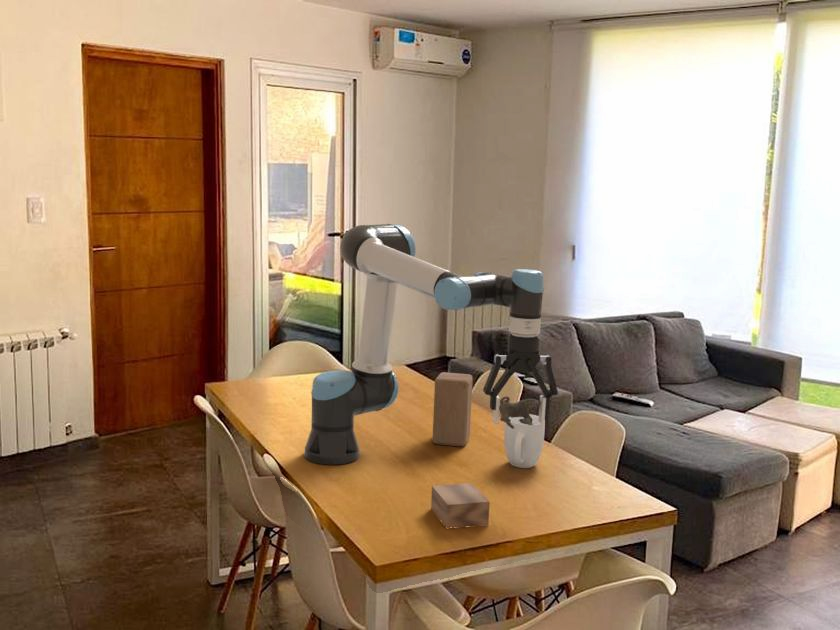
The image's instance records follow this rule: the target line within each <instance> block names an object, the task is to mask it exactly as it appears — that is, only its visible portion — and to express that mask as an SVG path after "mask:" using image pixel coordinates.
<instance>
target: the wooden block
mask: <svg viewBox="0 0 840 630" xmlns="http://www.w3.org/2000/svg"><path fill="white" fill-rule="evenodd" d="M472 395H473V375H472V374H468V373H467V374H466V373H457V372H446V371H444V372H441V373H439V374H438V375H437V377H436V378H435V380H434V396H433V397H434V398H433V416H432V417H433V419H432V420H433V421H432V439H431V440H432V443H433V444H435V445H443V446H450V447H453V446H454V447H465V446H466V445H467V442H468V440H469V438H470V436H471V421H472V420H471V419H472V417H471V416H472V400H473V399H472V397H473V396H472Z"/></svg>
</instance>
